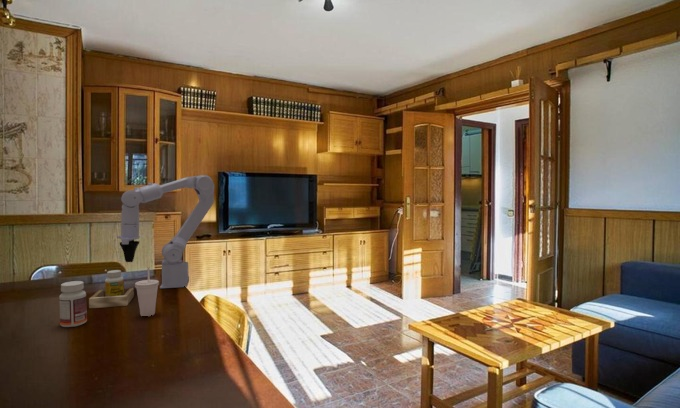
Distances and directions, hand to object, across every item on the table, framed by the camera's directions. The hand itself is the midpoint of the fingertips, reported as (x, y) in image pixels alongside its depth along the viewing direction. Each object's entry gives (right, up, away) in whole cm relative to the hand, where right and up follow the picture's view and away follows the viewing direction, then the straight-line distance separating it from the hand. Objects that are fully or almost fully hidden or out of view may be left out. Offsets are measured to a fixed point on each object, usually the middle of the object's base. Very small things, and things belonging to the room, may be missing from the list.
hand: (129, 261), depth 141 cm
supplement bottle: (+1, -11, -11) cm, 16 cm away
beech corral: (+2, -11, -13) cm, 17 cm away
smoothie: (+19, -12, -25) cm, 33 cm away
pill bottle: (+2, -12, -33) cm, 35 cm away
